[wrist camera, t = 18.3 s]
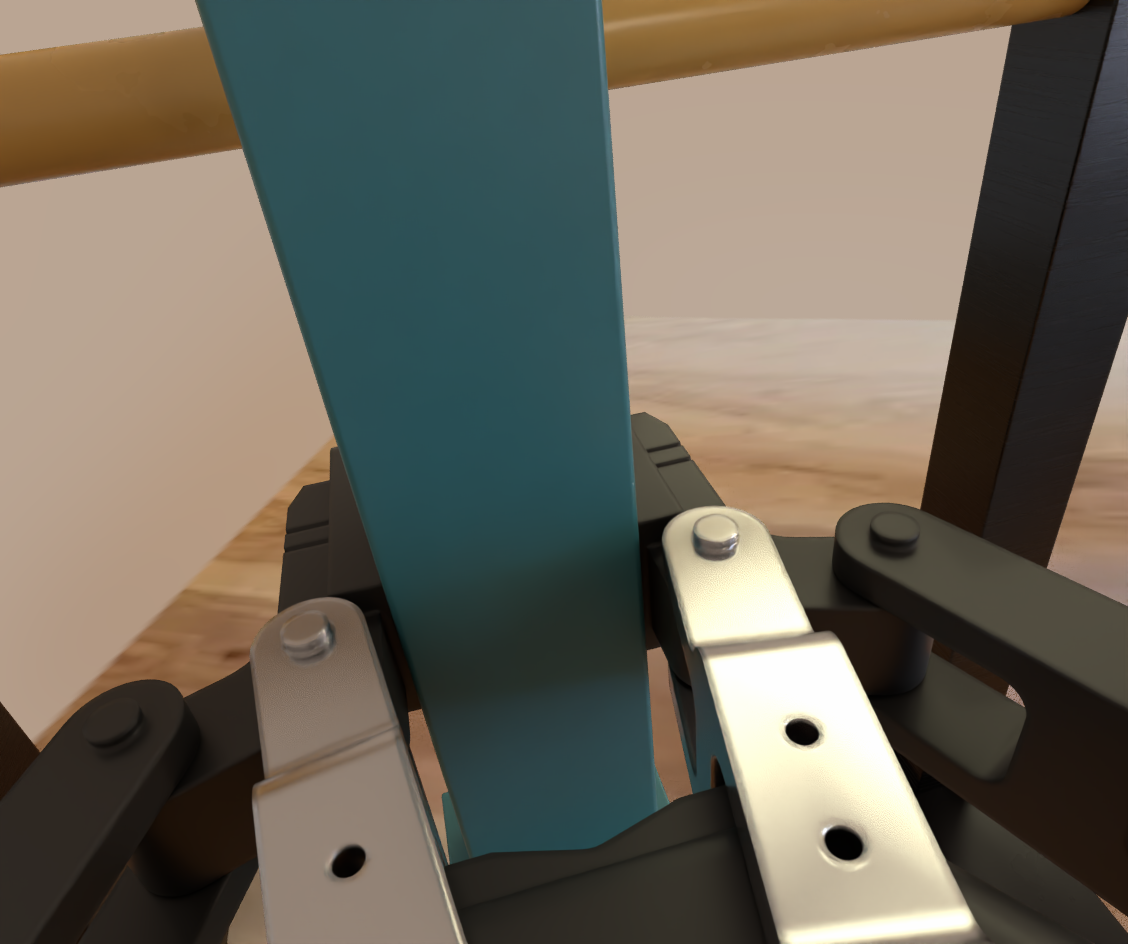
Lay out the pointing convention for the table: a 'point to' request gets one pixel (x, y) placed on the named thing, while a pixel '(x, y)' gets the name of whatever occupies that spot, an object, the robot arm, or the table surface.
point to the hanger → (470, 374)
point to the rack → (987, 304)
